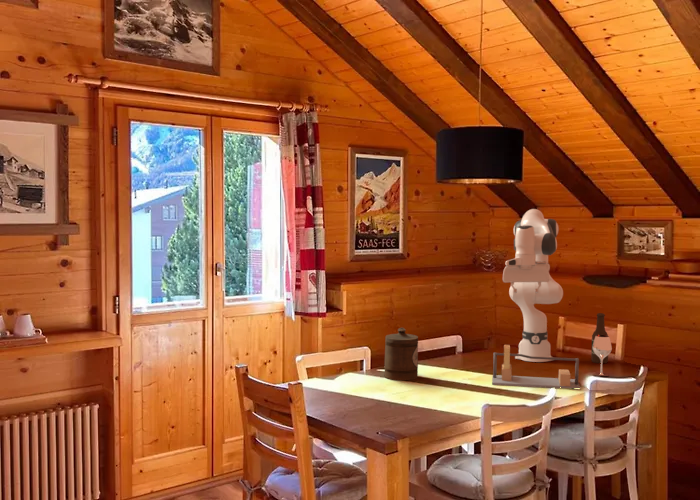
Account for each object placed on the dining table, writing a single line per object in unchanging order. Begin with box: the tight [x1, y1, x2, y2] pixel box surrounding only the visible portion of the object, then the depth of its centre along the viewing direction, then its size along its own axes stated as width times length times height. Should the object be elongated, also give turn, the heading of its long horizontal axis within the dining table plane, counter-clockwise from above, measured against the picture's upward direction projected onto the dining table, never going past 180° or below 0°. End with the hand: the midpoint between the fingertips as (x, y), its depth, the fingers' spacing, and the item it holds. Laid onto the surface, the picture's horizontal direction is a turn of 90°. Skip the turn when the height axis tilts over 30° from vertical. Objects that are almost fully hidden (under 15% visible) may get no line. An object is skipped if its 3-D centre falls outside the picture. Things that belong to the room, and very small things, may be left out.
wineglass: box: [591, 335, 613, 375], centre depth 320 cm, size 8×8×18 cm
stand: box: [491, 352, 581, 389], centre depth 306 cm, size 14×36×12 cm, turn 78°
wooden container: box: [384, 327, 419, 381], centre depth 317 cm, size 15×15×22 cm
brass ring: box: [503, 344, 511, 369], centre depth 310 cm, size 8×2×9 cm, turn 168°
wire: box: [496, 352, 576, 362], centre depth 306 cm, size 5×34×1 cm, turn 78°
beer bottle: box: [590, 312, 609, 364], centre depth 347 cm, size 8×8×24 cm
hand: (526, 292), depth 315 cm, fingers open, 8 cm apart
